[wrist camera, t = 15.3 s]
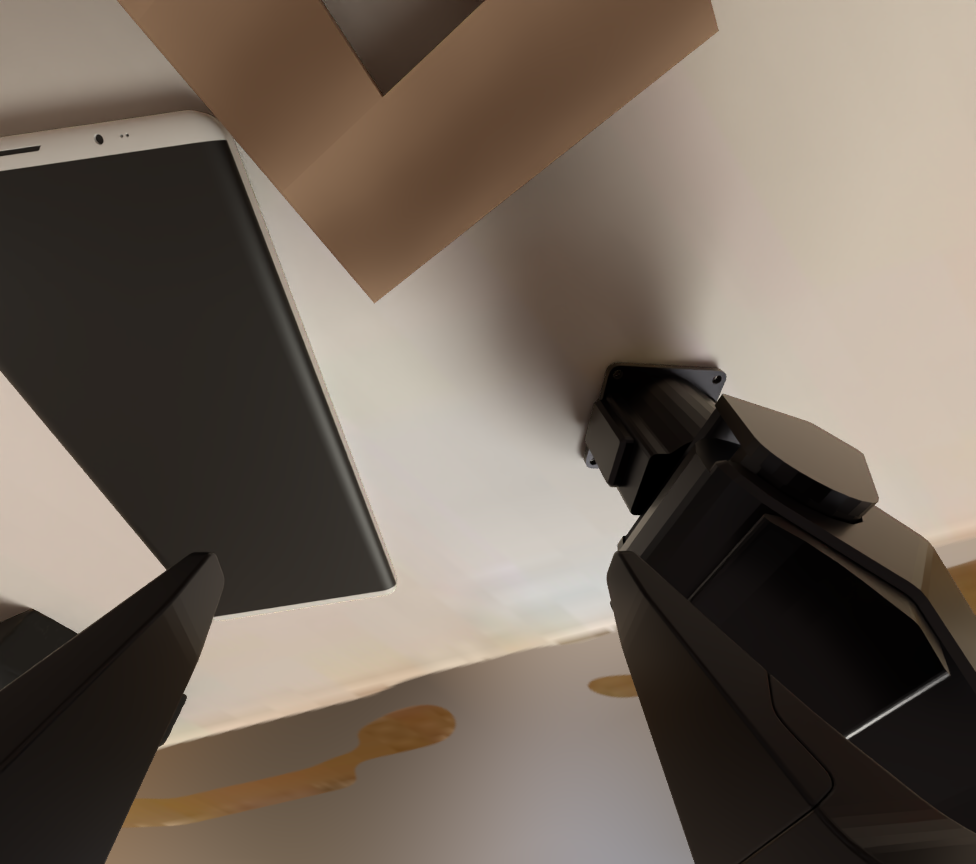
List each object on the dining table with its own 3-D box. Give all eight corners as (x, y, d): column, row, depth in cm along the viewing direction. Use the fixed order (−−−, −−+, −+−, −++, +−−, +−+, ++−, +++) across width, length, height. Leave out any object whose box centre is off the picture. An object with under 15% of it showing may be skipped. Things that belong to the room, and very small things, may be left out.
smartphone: (218, 604, 30) (207, 627, 28) (-129, 162, 15) (-190, 161, 14) (401, 576, 30) (398, 597, 28) (229, 110, 15) (207, 104, 14)
